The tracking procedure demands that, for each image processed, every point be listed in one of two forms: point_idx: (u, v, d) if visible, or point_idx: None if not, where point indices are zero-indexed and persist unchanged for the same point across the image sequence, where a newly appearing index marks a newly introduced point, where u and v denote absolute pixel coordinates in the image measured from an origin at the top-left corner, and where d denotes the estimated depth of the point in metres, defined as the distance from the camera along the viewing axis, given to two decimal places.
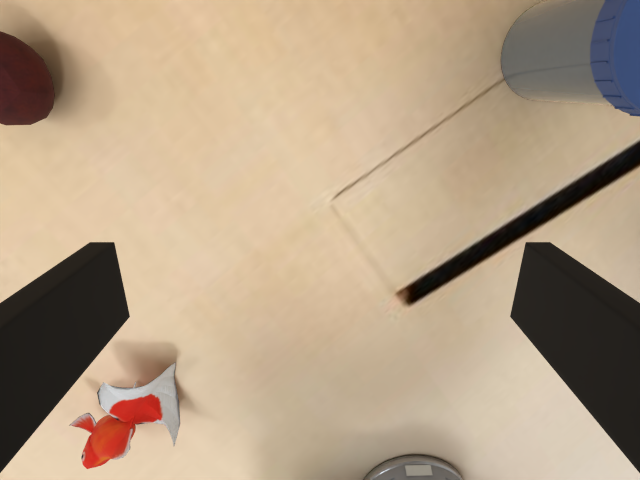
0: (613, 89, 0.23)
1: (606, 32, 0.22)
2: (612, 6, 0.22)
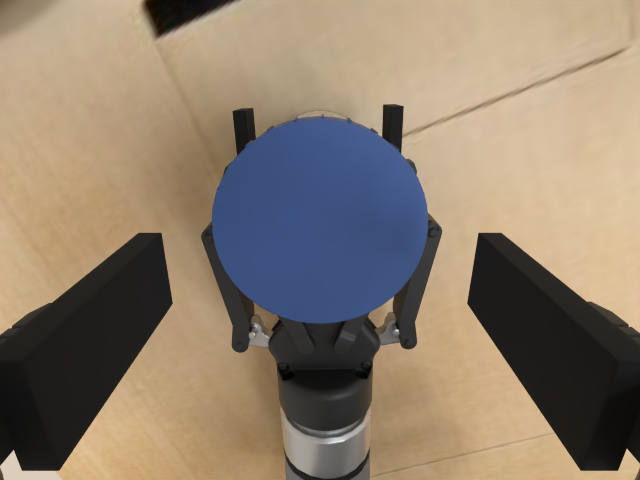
0: None
1: None
2: None
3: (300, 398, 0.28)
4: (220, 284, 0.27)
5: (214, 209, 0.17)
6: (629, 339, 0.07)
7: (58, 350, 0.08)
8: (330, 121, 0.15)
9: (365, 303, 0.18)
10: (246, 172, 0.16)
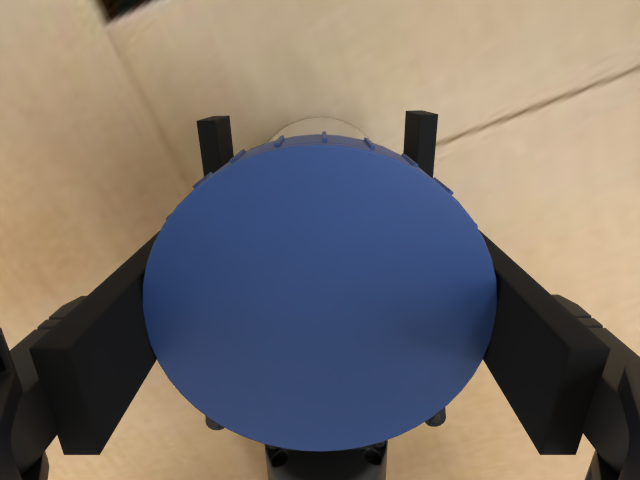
0: None
1: None
2: None
3: None
4: None
5: (145, 289, 0.10)
6: (584, 328, 0.08)
7: (99, 339, 0.08)
8: (338, 147, 0.09)
9: (390, 424, 0.12)
10: (195, 232, 0.09)
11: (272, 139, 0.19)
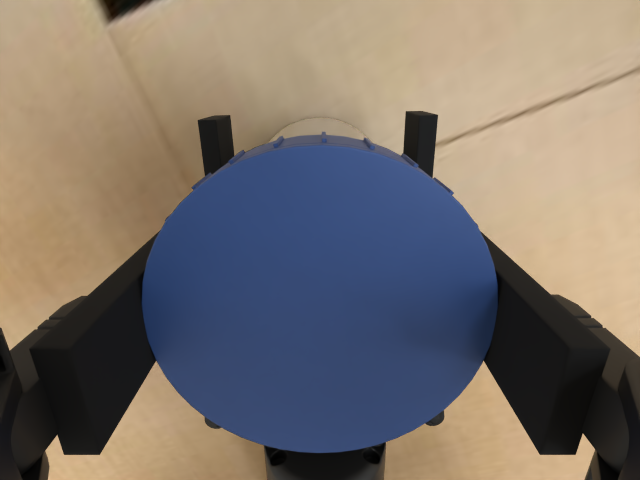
0: None
1: (294, 142, 0.09)
2: (348, 141, 0.10)
3: None
4: None
5: (340, 450, 0.12)
6: (584, 328, 0.08)
7: (99, 339, 0.08)
8: (159, 363, 0.11)
9: (429, 206, 0.09)
10: (274, 430, 0.12)
11: (272, 139, 0.19)
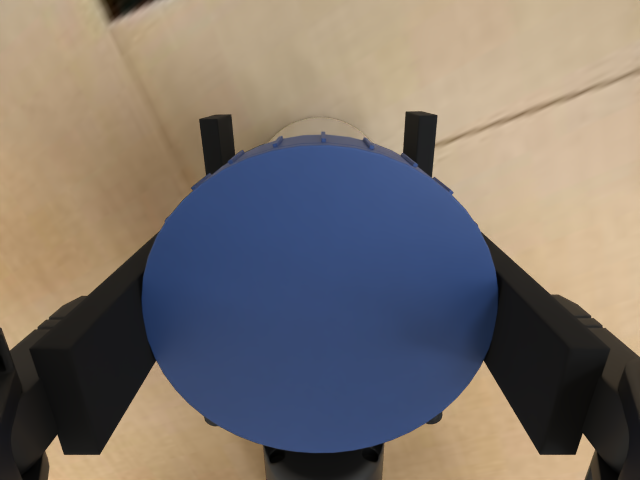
0: None
1: None
2: None
3: None
4: None
5: (484, 247, 0.09)
6: (584, 327, 0.08)
7: (99, 339, 0.08)
8: (412, 429, 0.12)
9: (163, 283, 0.10)
10: (470, 322, 0.10)
11: (273, 138, 0.20)
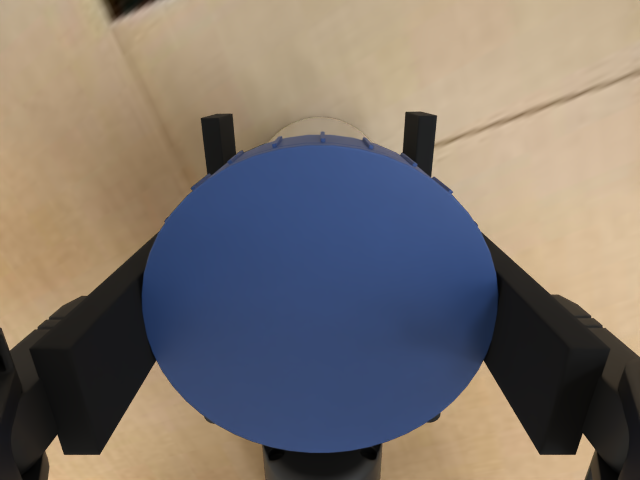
0: None
1: None
2: None
3: None
4: None
5: (171, 219, 0.09)
6: (584, 328, 0.08)
7: (99, 339, 0.08)
8: (427, 178, 0.09)
9: (328, 440, 0.12)
10: (255, 188, 0.09)
11: (274, 137, 0.20)
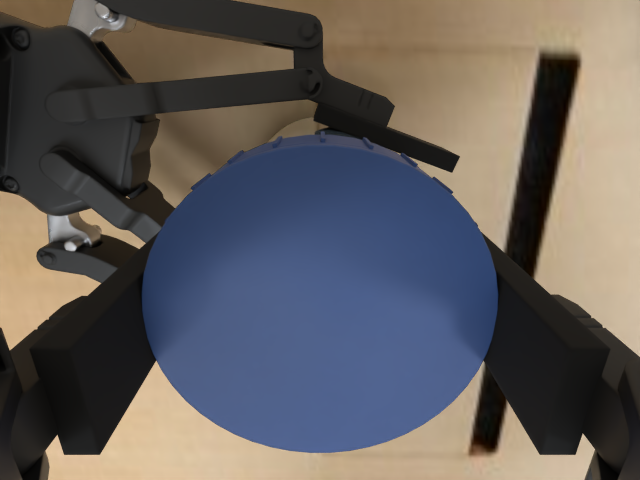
0: None
1: None
2: None
3: None
4: (220, 3, 0.15)
5: (171, 218, 0.09)
6: (584, 327, 0.08)
7: (99, 339, 0.08)
8: (427, 178, 0.09)
9: (328, 440, 0.12)
10: (255, 188, 0.09)
11: None
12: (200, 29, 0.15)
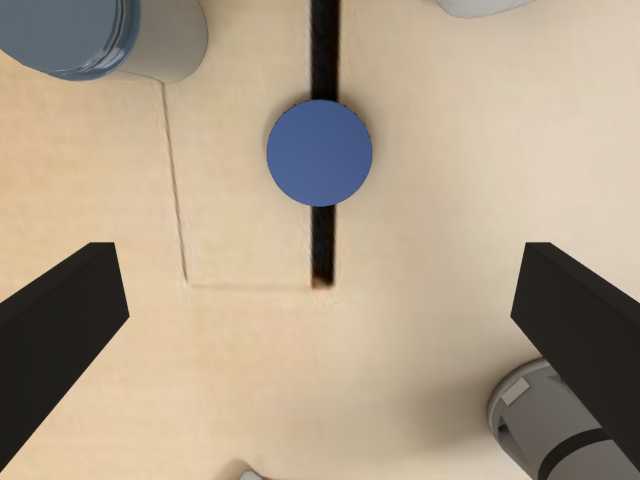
0: None
1: None
2: None
3: None
4: None
5: (278, 121, 0.34)
6: None
7: None
8: (348, 109, 0.33)
9: (322, 200, 0.36)
10: (301, 112, 0.33)
11: (188, 7, 0.28)
12: None
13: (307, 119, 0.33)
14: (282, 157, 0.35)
